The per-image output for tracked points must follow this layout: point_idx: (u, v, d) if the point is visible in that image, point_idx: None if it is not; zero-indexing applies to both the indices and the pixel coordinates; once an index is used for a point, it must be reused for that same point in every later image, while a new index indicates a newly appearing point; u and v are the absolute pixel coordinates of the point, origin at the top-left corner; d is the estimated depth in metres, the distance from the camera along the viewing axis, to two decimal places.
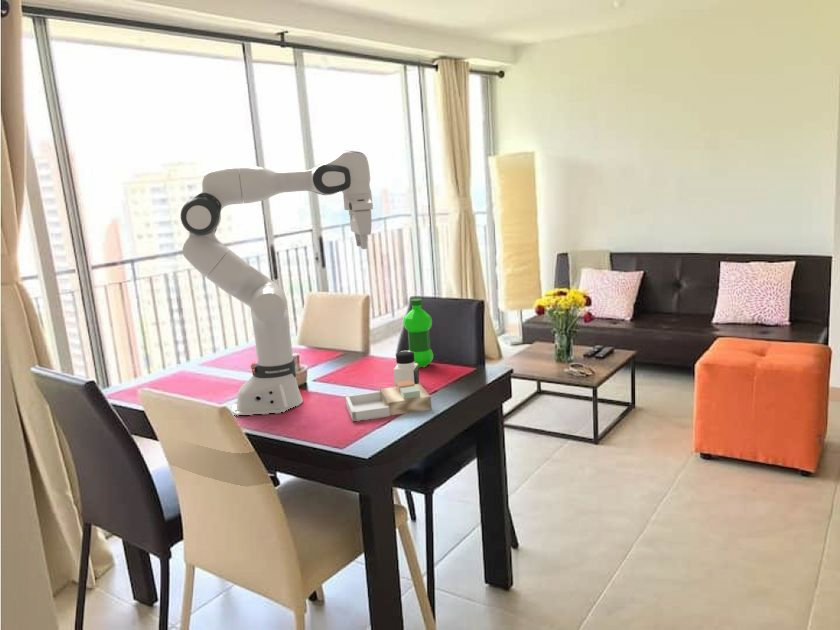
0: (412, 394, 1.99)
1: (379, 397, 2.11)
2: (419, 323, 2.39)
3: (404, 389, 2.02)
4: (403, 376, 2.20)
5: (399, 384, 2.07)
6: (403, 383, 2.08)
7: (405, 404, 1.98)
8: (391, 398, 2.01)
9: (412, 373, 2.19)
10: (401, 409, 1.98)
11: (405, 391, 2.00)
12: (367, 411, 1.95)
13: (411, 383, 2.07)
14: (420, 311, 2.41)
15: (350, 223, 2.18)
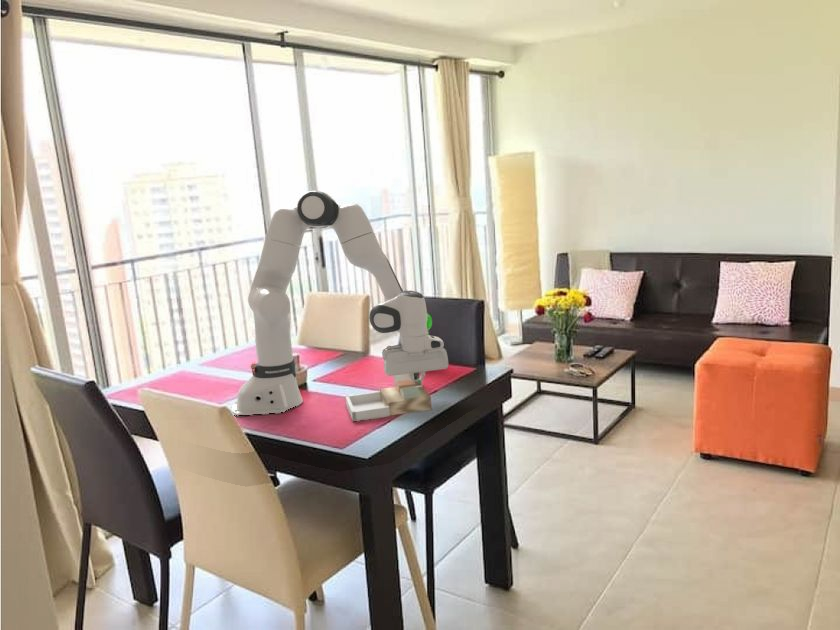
0: (412, 394, 1.99)
1: (379, 397, 2.11)
2: None
3: (404, 389, 2.02)
4: (403, 376, 2.20)
5: (399, 384, 2.07)
6: (403, 383, 2.08)
7: (405, 404, 1.98)
8: (391, 398, 2.01)
9: None
10: (401, 409, 1.98)
11: (405, 391, 2.00)
12: (367, 411, 1.95)
13: (411, 383, 2.07)
14: None
15: (389, 368, 2.04)
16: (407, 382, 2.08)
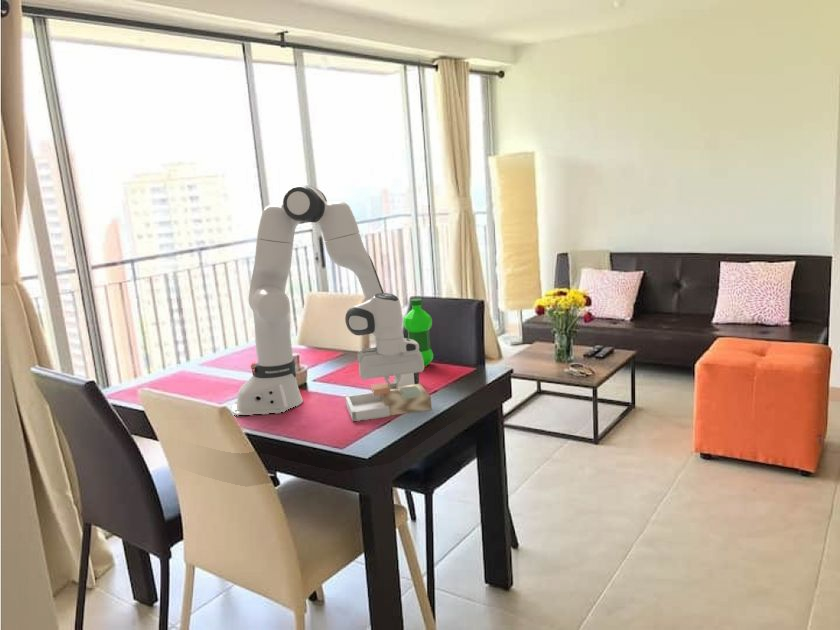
0: (412, 394, 1.99)
1: (379, 397, 2.11)
2: (419, 323, 2.39)
3: (404, 389, 2.02)
4: (403, 376, 2.20)
5: (374, 388, 2.05)
6: (378, 387, 2.06)
7: (405, 404, 1.98)
8: (391, 398, 2.01)
9: (412, 373, 2.19)
10: (401, 409, 1.98)
11: (405, 391, 2.00)
12: (367, 411, 1.95)
13: (386, 386, 2.05)
14: (420, 311, 2.41)
15: (364, 371, 2.03)
16: (382, 385, 2.07)
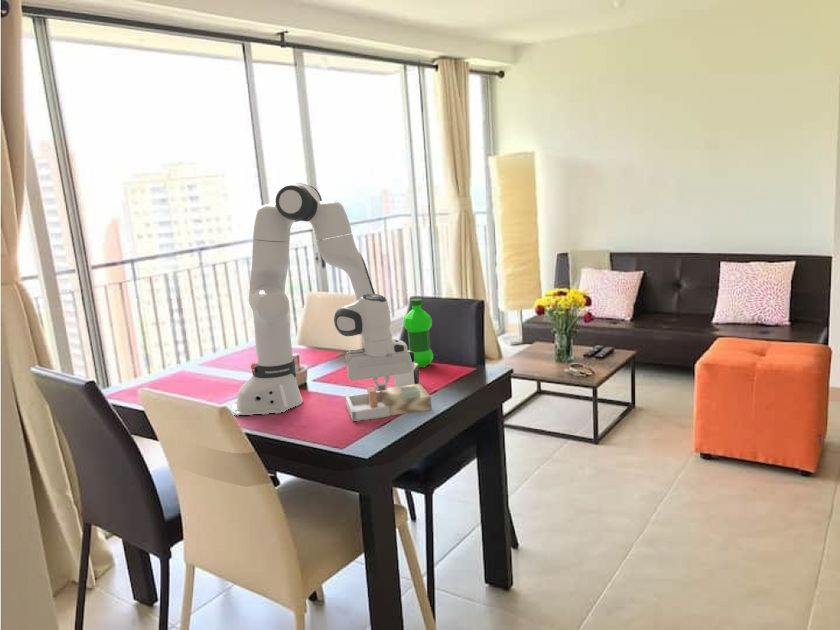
0: (412, 394, 1.99)
1: (379, 397, 2.11)
2: (419, 323, 2.39)
3: (404, 389, 2.02)
4: (403, 376, 2.20)
5: (370, 404, 2.06)
6: (369, 399, 2.06)
7: (405, 404, 1.98)
8: (391, 398, 2.01)
9: (412, 373, 2.19)
10: (401, 409, 1.98)
11: (405, 391, 2.00)
12: (367, 411, 1.95)
13: (369, 393, 2.05)
14: (420, 311, 2.41)
15: (352, 372, 2.02)
16: (368, 394, 2.06)
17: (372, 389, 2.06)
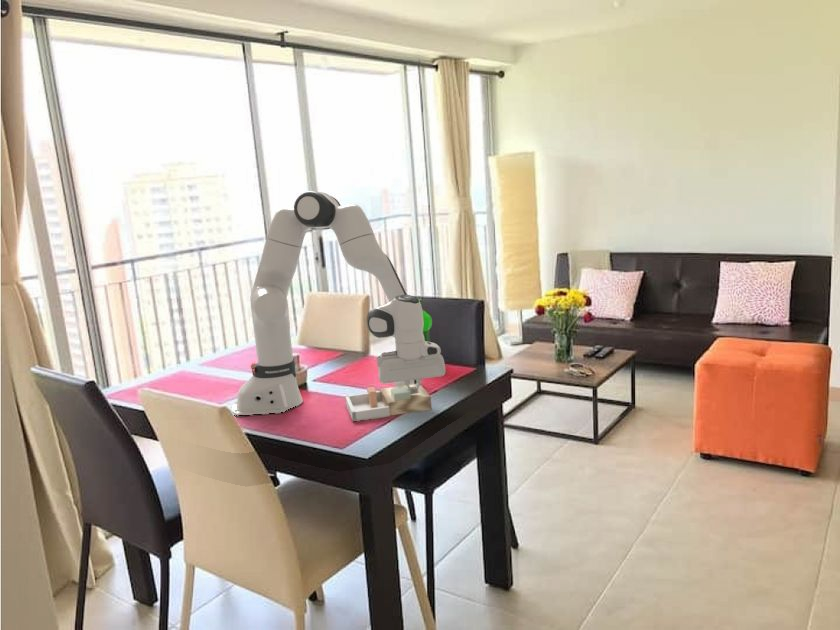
0: (402, 395, 1.99)
1: (379, 397, 2.11)
2: None
3: (395, 390, 2.01)
4: None
5: (370, 404, 2.06)
6: (369, 399, 2.06)
7: (405, 404, 1.98)
8: (391, 398, 2.01)
9: None
10: (401, 409, 1.98)
11: (396, 392, 1.99)
12: (367, 411, 1.95)
13: (369, 393, 2.05)
14: None
15: (384, 375, 1.97)
16: (368, 394, 2.06)
17: (372, 389, 2.06)
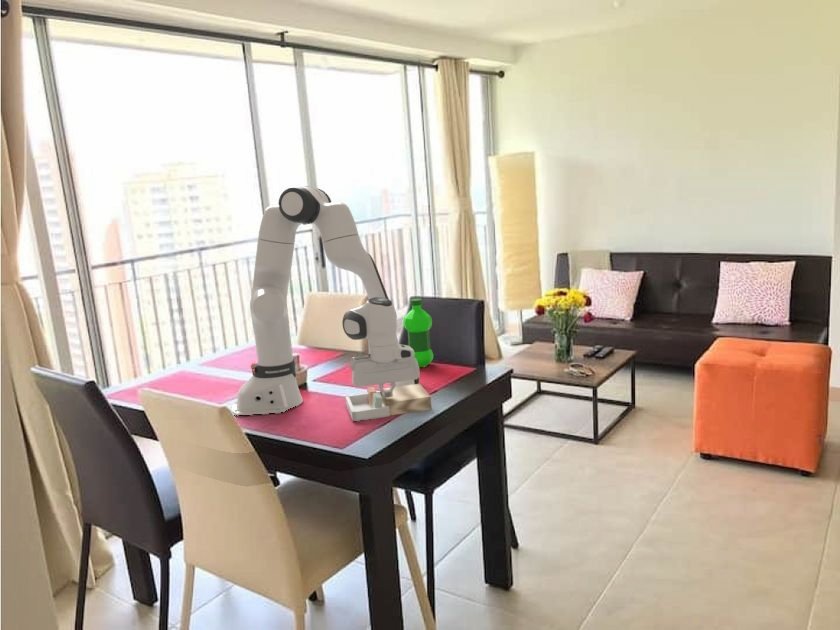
0: (377, 406, 1.97)
1: None
2: (419, 323, 2.39)
3: (372, 407, 2.00)
4: None
5: (370, 404, 2.06)
6: (369, 399, 2.06)
7: (405, 404, 1.98)
8: (391, 398, 2.01)
9: None
10: (401, 409, 1.98)
11: None
12: (367, 411, 1.95)
13: (369, 393, 2.05)
14: (420, 311, 2.41)
15: (357, 378, 1.95)
16: (368, 394, 2.06)
17: (372, 389, 2.06)
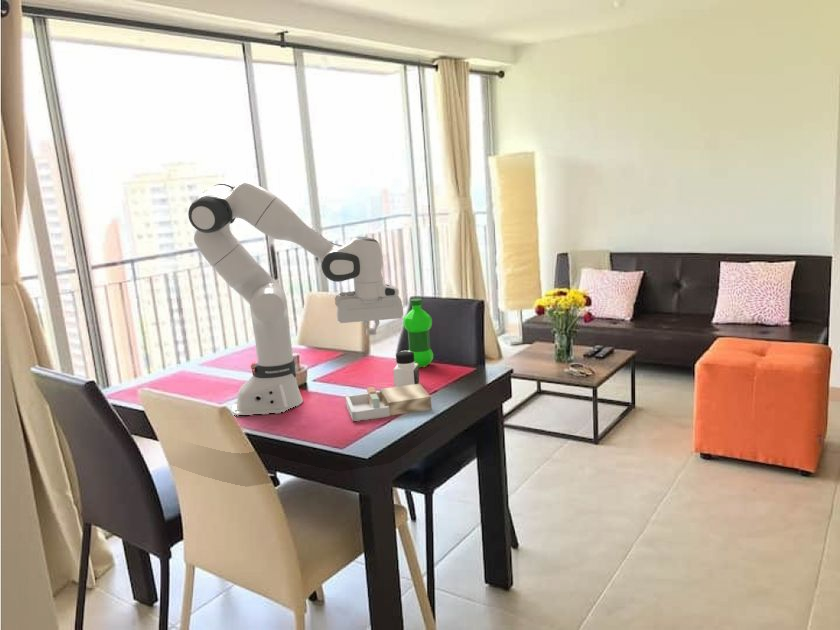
0: (375, 406, 1.97)
1: (379, 397, 2.11)
2: (419, 323, 2.39)
3: None
4: (403, 376, 2.20)
5: (370, 404, 2.06)
6: (369, 399, 2.06)
7: (405, 404, 1.98)
8: (391, 398, 2.01)
9: (412, 373, 2.19)
10: (401, 409, 1.98)
11: None
12: (367, 411, 1.95)
13: (369, 393, 2.05)
14: (420, 311, 2.41)
15: (341, 314, 2.00)
16: (368, 394, 2.06)
17: (372, 389, 2.06)
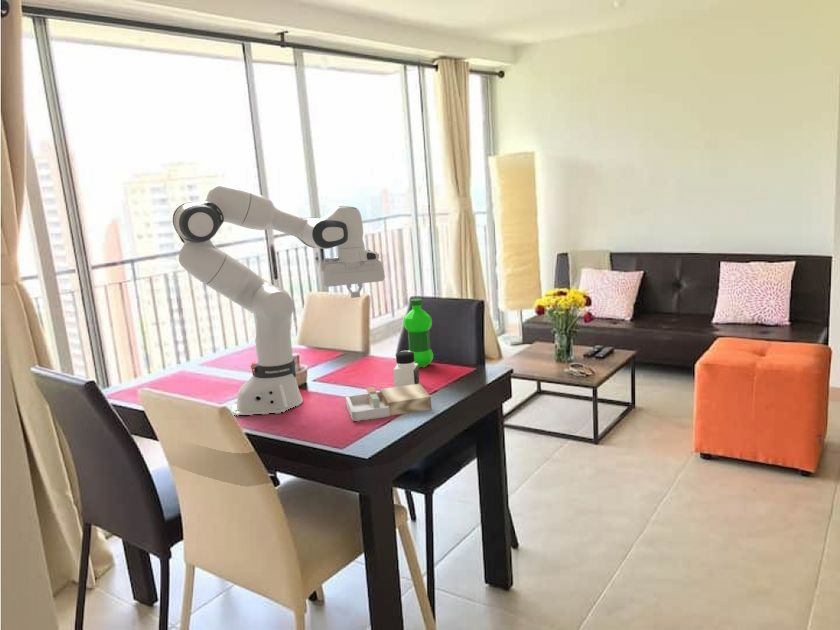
0: (375, 406, 1.97)
1: (379, 397, 2.11)
2: (419, 323, 2.39)
3: None
4: (403, 376, 2.20)
5: (370, 404, 2.06)
6: (369, 399, 2.06)
7: (405, 404, 1.98)
8: (391, 398, 2.01)
9: (412, 373, 2.19)
10: (401, 409, 1.98)
11: None
12: (367, 411, 1.95)
13: (369, 393, 2.05)
14: (420, 311, 2.41)
15: (327, 279, 2.15)
16: (368, 394, 2.06)
17: (372, 389, 2.06)
